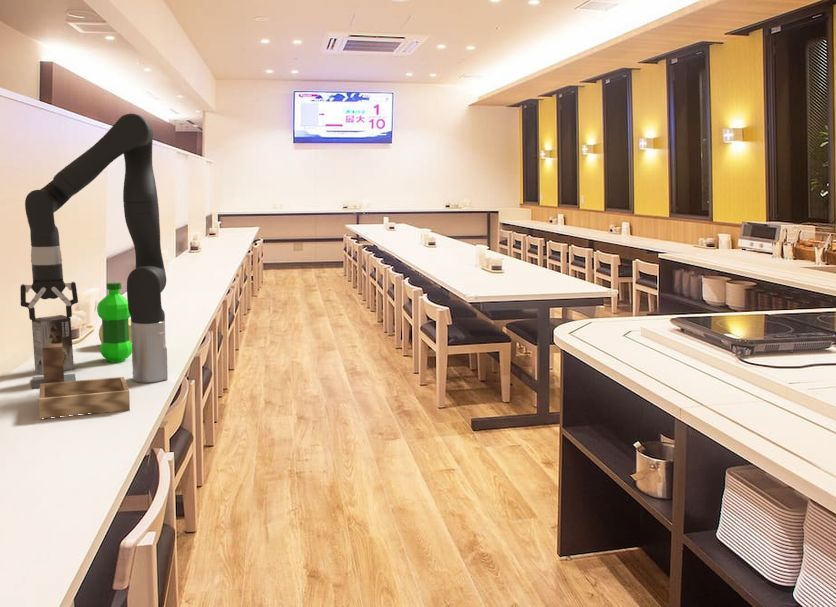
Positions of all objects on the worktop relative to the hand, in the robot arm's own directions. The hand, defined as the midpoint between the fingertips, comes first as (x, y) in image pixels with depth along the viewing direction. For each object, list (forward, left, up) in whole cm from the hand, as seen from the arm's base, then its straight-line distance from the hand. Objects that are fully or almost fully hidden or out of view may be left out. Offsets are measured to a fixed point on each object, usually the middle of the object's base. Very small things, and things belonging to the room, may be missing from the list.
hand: (51, 320), depth 201 cm
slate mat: (0, 0, -18) cm, 18 cm away
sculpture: (-20, -44, -18) cm, 52 cm away
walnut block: (0, 0, -17) cm, 17 cm away
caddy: (-7, +28, -18) cm, 34 cm away
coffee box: (0, -15, -18) cm, 24 cm away
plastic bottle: (-18, -22, -18) cm, 34 cm away
